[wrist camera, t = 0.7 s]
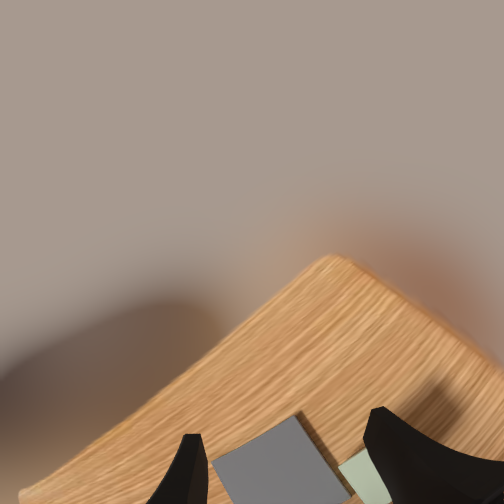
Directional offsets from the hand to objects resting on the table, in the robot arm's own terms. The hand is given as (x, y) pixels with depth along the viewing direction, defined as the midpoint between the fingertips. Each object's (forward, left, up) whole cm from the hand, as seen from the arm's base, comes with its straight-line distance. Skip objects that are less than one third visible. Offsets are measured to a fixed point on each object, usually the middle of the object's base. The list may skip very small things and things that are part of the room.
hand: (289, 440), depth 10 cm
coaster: (-1, +8, -15) cm, 17 cm away
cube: (-5, -1, -15) cm, 16 cm away
